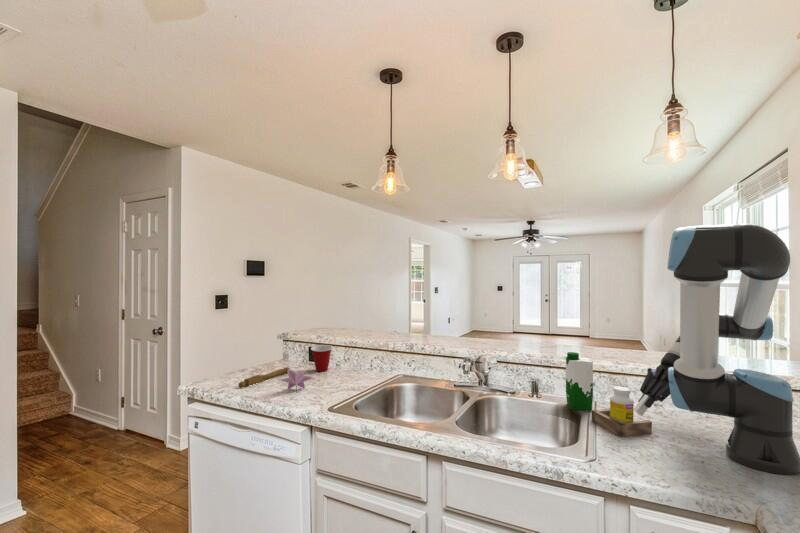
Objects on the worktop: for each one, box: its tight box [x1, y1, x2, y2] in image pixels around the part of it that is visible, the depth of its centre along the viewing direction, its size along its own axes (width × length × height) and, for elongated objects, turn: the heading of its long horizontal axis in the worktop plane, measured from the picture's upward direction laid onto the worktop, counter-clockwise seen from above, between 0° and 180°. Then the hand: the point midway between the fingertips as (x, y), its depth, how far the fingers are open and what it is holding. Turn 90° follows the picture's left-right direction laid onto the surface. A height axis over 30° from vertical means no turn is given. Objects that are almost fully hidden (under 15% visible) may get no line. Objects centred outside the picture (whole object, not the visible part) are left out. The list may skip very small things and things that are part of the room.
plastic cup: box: [310, 344, 333, 373], centre depth 202 cm, size 11×11×12 cm
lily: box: [280, 368, 314, 394], centre depth 168 cm, size 12×12×10 cm
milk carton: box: [565, 351, 594, 411], centre depth 148 cm, size 9×9×20 cm
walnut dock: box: [591, 408, 653, 437], centre depth 130 cm, size 12×13×4 cm
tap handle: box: [238, 366, 290, 388], centre depth 186 cm, size 3×3×30 cm
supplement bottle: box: [609, 386, 635, 423], centre depth 129 cm, size 7×7×13 cm
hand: (637, 412), depth 131 cm, fingers closed
